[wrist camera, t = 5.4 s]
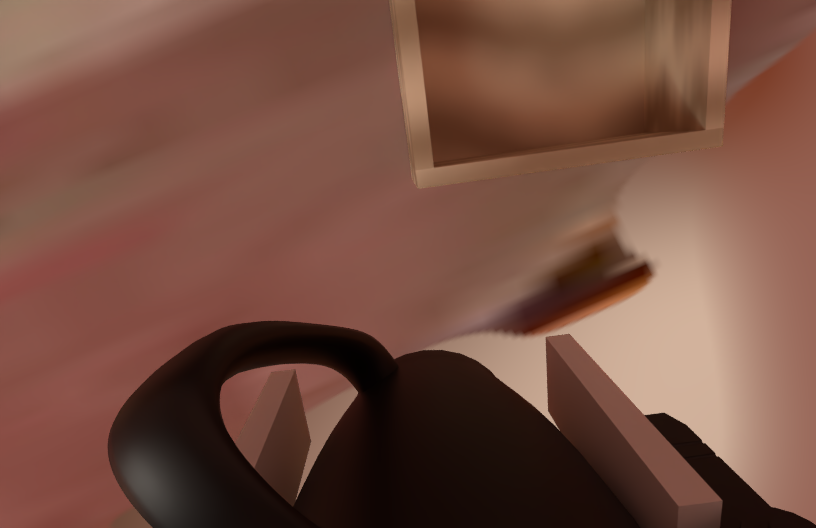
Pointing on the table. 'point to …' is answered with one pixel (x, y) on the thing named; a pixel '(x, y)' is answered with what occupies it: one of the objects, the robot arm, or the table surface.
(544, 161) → the open wooden box
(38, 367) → the table surface
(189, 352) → the mug
